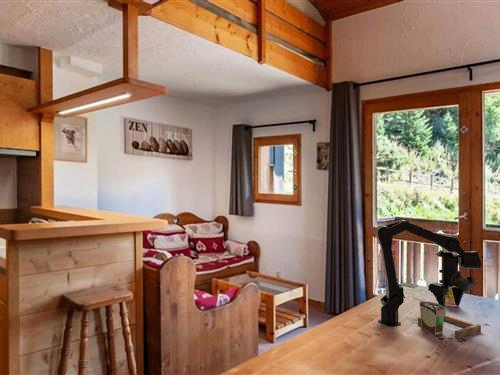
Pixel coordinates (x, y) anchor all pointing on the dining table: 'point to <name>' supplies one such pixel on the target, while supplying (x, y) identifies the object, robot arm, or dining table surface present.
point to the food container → (432, 317)
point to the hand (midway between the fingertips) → (450, 307)
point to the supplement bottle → (450, 299)
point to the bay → (465, 331)
